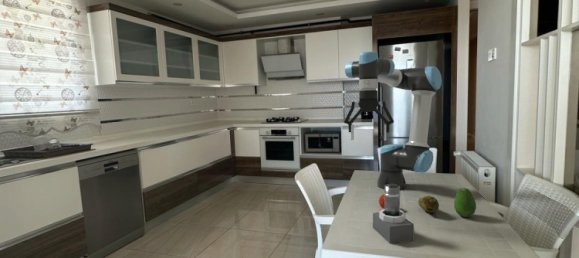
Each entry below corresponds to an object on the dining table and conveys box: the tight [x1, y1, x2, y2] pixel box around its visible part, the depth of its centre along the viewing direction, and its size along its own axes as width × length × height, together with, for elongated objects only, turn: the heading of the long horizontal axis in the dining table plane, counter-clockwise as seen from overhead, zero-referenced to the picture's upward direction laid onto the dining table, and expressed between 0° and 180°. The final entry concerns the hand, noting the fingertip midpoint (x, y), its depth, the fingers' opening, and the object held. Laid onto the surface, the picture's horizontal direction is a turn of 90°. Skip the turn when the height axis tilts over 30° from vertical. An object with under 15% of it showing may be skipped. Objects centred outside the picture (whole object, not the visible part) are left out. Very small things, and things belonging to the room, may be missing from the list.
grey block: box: [372, 208, 415, 244], centre depth 115 cm, size 13×9×8 cm
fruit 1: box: [378, 193, 385, 209], centre depth 140 cm, size 7×7×8 cm
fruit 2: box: [453, 187, 477, 218], centre depth 128 cm, size 8×8×12 cm
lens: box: [384, 184, 401, 217], centre depth 114 cm, size 5×5×12 cm
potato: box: [418, 195, 440, 213], centre depth 135 cm, size 8×13×8 cm, turn 155°
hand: (368, 140), depth 134 cm, fingers open, 13 cm apart
